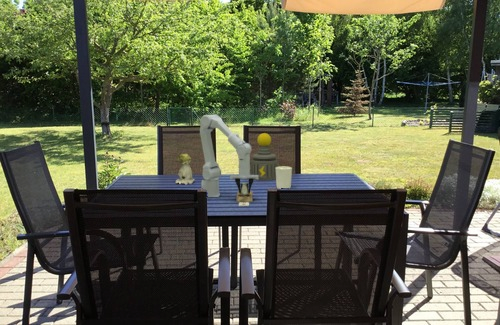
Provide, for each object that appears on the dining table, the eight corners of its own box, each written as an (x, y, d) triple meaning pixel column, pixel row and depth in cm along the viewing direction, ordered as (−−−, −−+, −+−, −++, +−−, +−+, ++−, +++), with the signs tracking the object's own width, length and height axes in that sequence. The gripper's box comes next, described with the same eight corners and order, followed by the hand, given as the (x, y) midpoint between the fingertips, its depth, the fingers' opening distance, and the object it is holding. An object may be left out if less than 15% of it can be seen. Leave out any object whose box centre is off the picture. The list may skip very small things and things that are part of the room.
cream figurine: (194, 180, 272) (193, 152, 269) (195, 184, 259) (194, 154, 256) (175, 180, 270) (174, 152, 267) (175, 184, 257) (174, 155, 255)
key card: (238, 205, 205) (238, 205, 205) (239, 202, 211) (239, 202, 211) (248, 205, 205) (248, 205, 205) (249, 202, 211) (249, 202, 211)
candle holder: (277, 185, 252) (277, 166, 250) (293, 186, 249) (293, 166, 248) (273, 189, 243) (273, 168, 241) (290, 189, 240) (290, 169, 238)
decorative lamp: (277, 181, 265) (277, 134, 261) (248, 180, 268) (247, 134, 264) (280, 175, 284) (280, 132, 279) (252, 175, 287) (252, 131, 282)
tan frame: (236, 201, 213) (236, 197, 213) (238, 195, 227) (237, 191, 227) (252, 201, 213) (252, 197, 213) (252, 195, 227) (252, 191, 226)
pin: (240, 199, 215) (240, 184, 213) (241, 197, 219) (240, 182, 217) (248, 199, 214) (248, 184, 213) (248, 197, 218) (248, 182, 217)
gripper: (229, 168, 210) (230, 194, 212) (258, 168, 210) (258, 194, 212) (230, 166, 217) (231, 191, 219) (258, 166, 217) (258, 191, 219)
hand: (244, 192), depth 216 cm, fingers open, 4 cm apart
